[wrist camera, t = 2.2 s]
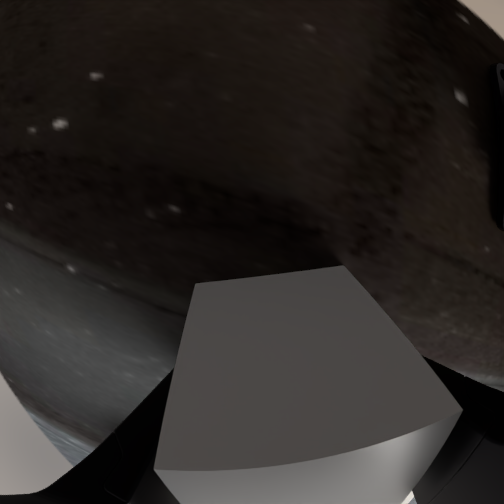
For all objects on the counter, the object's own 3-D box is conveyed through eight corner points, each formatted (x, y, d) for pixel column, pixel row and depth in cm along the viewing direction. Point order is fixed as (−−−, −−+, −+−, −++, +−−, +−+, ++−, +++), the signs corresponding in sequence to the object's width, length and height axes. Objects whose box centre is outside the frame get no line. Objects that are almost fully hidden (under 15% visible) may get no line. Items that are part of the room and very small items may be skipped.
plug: (343, 265, 9) (462, 409, 3) (333, 411, 11) (375, 532, 5) (195, 283, 9) (153, 469, 3) (228, 426, 11) (232, 556, 5)
